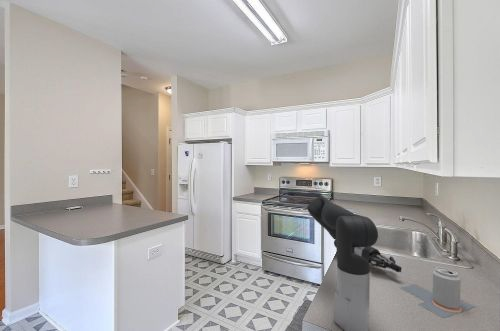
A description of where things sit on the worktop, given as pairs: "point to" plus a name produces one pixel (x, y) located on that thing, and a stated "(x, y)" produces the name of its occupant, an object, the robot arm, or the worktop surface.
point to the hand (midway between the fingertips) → (400, 270)
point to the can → (446, 288)
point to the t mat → (431, 304)
